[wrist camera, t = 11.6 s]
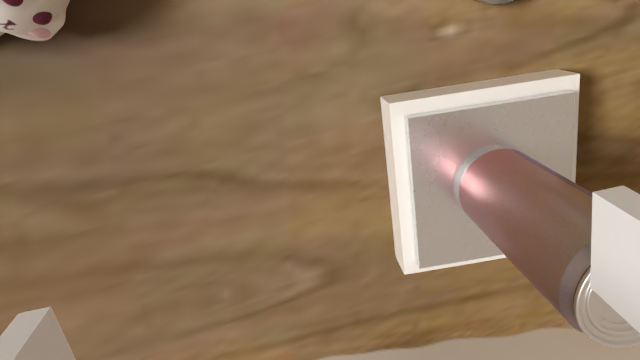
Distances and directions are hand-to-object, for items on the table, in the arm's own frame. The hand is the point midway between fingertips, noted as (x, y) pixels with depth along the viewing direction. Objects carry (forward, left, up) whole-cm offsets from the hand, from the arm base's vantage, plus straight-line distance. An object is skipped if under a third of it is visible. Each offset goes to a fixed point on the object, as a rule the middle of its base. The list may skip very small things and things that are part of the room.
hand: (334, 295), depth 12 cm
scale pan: (+8, +14, -23) cm, 28 cm away
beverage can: (+8, +14, -23) cm, 28 cm away
